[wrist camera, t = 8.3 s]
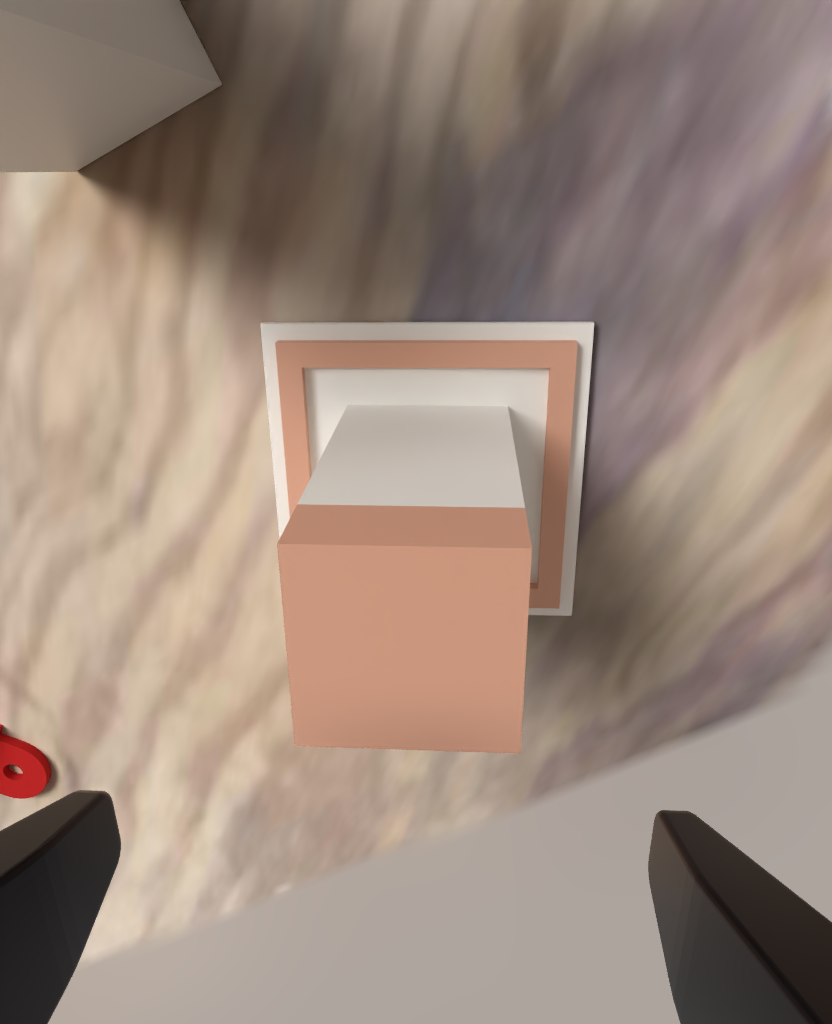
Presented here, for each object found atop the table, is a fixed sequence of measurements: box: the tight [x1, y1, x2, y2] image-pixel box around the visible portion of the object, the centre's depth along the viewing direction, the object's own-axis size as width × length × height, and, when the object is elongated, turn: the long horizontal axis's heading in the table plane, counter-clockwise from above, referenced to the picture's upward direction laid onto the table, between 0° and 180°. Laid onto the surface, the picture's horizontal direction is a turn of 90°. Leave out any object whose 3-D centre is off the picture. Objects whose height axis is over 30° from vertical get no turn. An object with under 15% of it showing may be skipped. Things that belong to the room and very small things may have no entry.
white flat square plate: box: [260, 322, 594, 616], centre depth 20 cm, size 8×8×1 cm
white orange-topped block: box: [277, 405, 532, 753], centre depth 17 cm, size 4×4×8 cm
